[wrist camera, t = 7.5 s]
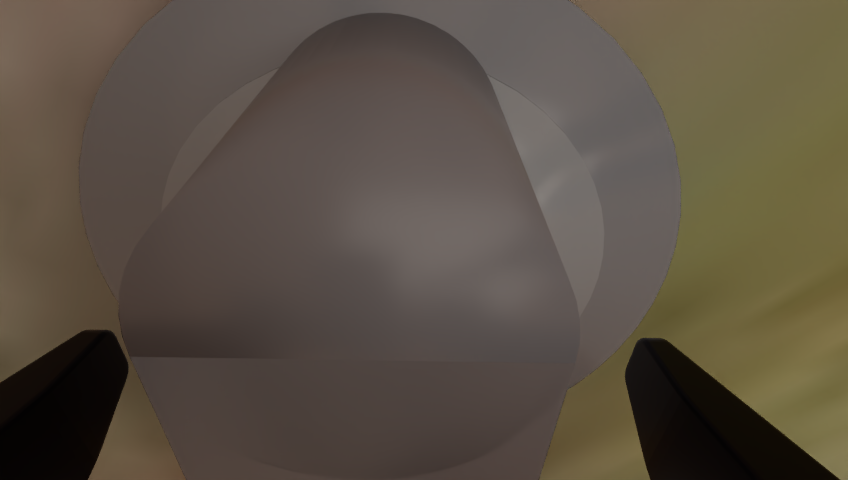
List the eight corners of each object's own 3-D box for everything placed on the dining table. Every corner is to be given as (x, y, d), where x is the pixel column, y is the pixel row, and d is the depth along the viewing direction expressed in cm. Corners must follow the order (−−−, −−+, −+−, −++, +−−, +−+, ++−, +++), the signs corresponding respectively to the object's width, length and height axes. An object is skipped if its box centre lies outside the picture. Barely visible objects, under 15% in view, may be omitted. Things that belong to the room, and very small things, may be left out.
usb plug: (516, 17, 7) (638, 164, 3) (457, 466, 14) (473, 690, 10) (250, 8, 7) (34, 148, 3) (321, 464, 14) (283, 691, 10)
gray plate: (764, -52, 8) (802, -47, 7) (591, 415, 15) (600, 442, 14) (-15, -80, 7) (-61, -77, 7) (184, 410, 14) (172, 439, 14)
